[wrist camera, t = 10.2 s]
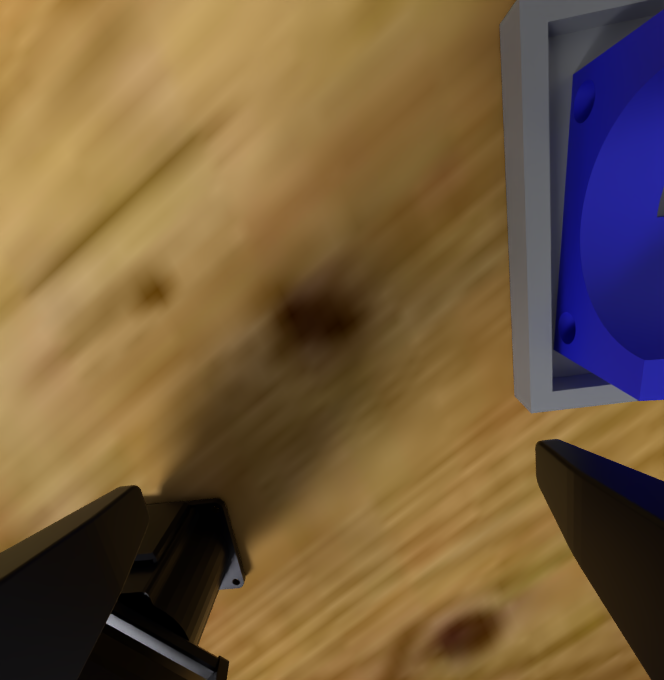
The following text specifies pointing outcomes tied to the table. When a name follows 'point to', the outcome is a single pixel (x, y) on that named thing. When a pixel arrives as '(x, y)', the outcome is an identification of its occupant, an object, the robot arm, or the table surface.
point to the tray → (549, 179)
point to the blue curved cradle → (616, 217)
